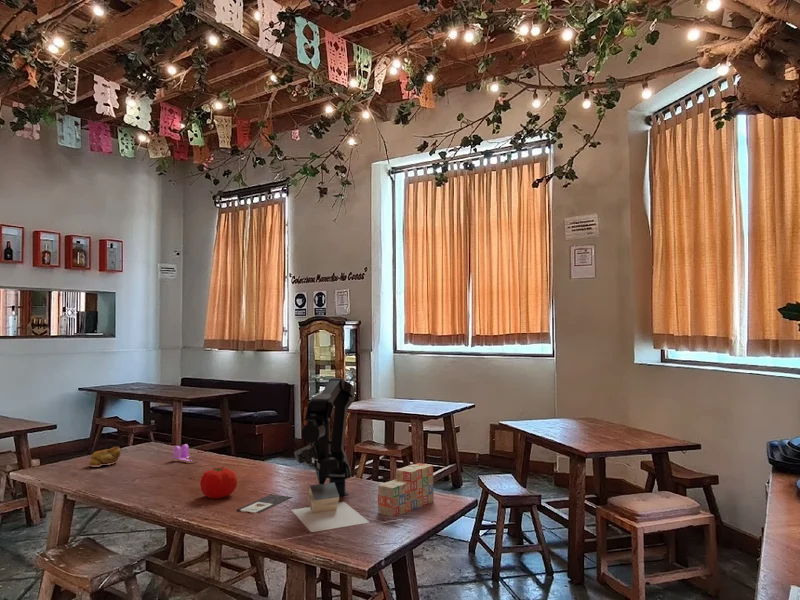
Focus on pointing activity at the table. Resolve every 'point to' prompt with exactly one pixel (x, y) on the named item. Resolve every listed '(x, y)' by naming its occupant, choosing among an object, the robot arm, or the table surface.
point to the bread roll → (105, 456)
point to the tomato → (218, 482)
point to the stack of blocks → (406, 490)
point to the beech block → (323, 497)
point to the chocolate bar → (263, 503)
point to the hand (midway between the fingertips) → (321, 486)
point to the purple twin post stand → (181, 452)
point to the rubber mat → (329, 518)
